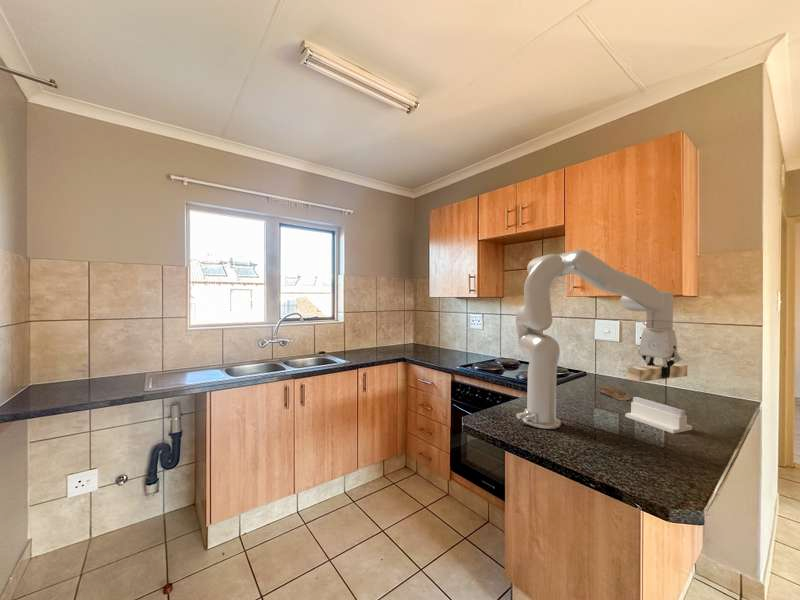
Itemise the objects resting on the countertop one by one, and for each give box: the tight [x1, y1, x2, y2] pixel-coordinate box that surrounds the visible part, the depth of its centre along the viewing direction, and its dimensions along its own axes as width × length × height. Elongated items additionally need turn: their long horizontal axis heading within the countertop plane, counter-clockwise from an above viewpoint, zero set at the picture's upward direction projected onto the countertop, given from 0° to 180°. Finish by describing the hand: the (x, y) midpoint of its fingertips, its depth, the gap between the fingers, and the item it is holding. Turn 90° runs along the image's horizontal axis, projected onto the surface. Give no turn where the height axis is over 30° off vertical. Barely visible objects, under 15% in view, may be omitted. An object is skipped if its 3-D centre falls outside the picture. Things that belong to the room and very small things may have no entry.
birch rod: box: [627, 363, 688, 383], centre depth 118 cm, size 26×4×4 cm, turn 110°
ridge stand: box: [624, 396, 693, 434], centre depth 118 cm, size 10×16×7 cm, turn 20°
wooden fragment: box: [599, 385, 633, 402], centre depth 155 cm, size 26×11×1 cm, turn 161°
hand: (658, 375), depth 118 cm, fingers closed on birch rod, 4 cm apart
